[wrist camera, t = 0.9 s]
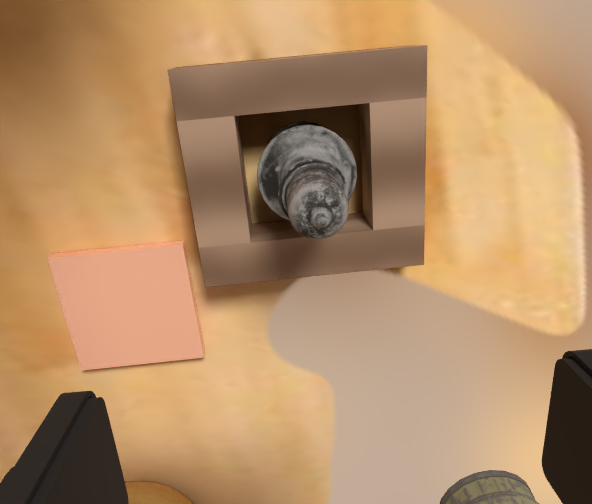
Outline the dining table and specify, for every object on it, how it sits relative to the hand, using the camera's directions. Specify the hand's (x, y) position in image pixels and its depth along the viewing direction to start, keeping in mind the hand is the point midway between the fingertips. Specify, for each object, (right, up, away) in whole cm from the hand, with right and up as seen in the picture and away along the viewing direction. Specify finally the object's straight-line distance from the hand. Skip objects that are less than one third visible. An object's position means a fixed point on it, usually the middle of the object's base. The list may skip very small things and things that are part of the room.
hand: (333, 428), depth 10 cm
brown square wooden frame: (0, +9, +22) cm, 24 cm away
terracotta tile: (-13, 0, +25) cm, 28 cm away
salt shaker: (0, +10, +22) cm, 24 cm away
